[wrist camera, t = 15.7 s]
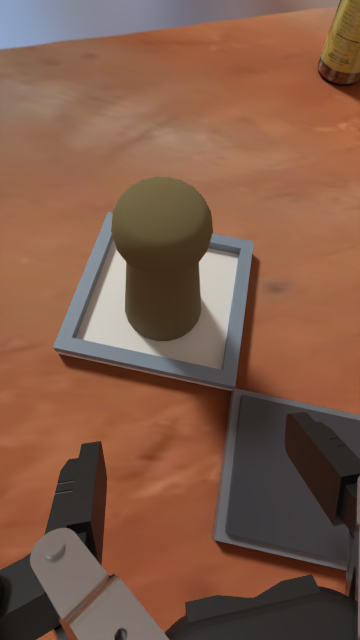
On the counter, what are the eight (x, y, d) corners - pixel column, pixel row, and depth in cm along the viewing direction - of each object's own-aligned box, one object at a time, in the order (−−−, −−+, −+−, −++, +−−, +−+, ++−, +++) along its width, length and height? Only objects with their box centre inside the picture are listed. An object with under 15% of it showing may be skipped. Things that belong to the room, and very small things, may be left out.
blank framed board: (58, 353, 23) (52, 347, 22) (110, 222, 29) (108, 212, 28) (231, 391, 23) (235, 386, 22) (249, 251, 29) (253, 241, 28)
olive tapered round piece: (217, 305, 25) (252, 205, 15) (162, 357, 23) (161, 283, 13) (163, 259, 27) (162, 139, 17) (108, 305, 25) (69, 202, 15)
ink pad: (212, 537, 19) (216, 541, 18) (231, 391, 23) (236, 386, 22) (361, 571, 19) (377, 578, 18) (354, 418, 23) (367, 414, 21)
